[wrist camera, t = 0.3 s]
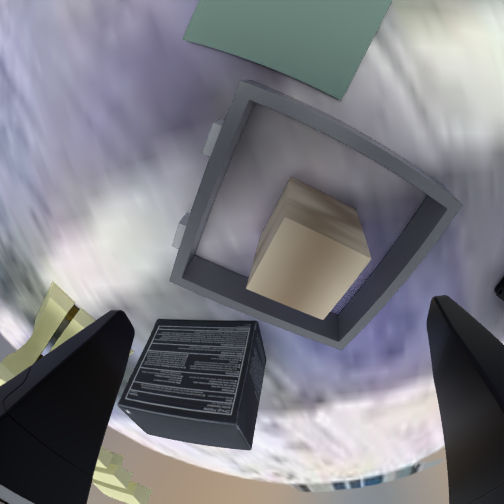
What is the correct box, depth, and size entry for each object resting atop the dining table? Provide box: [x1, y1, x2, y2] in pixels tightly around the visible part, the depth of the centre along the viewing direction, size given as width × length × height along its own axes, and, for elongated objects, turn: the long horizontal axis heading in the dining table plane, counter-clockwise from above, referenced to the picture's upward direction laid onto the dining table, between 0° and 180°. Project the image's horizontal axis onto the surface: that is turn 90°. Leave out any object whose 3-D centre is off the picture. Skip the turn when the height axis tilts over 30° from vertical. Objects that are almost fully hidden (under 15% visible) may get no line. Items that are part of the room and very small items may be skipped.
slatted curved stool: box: [0, 282, 152, 504], centre depth 28 cm, size 30×16×18 cm, turn 44°
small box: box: [117, 320, 266, 450], centre depth 25 cm, size 11×6×10 cm, turn 100°
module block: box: [246, 177, 371, 320], centre depth 18 cm, size 5×5×6 cm
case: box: [170, 80, 462, 350], centre depth 19 cm, size 15×15×3 cm
